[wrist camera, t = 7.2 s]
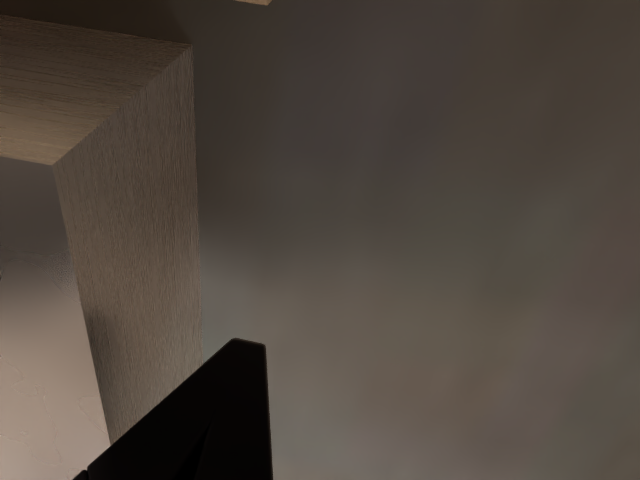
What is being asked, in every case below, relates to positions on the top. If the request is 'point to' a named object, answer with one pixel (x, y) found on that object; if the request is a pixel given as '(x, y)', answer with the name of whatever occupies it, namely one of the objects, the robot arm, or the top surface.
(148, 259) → the white flat block
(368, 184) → the top surface
